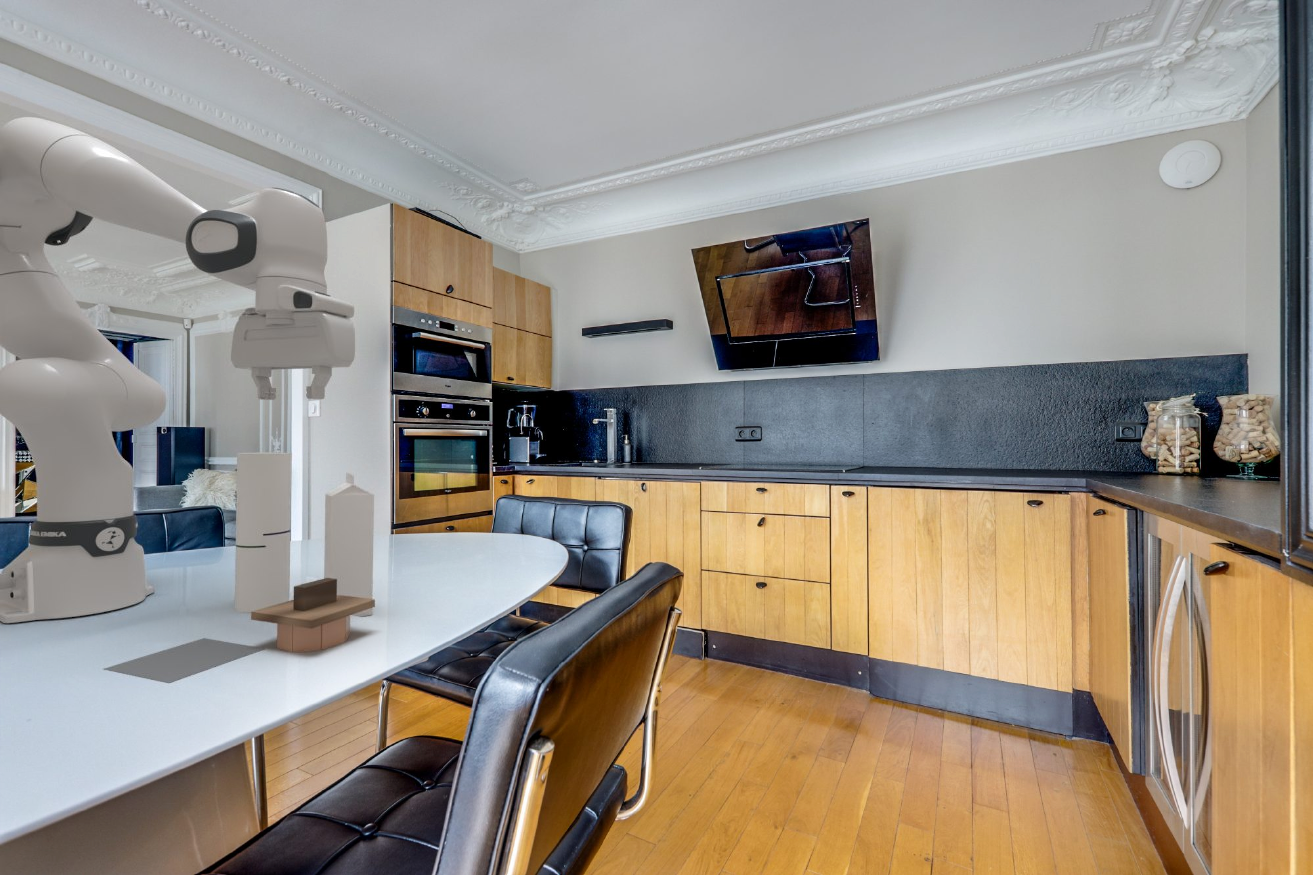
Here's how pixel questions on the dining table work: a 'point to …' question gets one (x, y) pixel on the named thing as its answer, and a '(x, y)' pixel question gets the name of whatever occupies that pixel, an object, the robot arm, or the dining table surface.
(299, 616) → the lid
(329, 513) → the milk
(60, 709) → the dining table surface
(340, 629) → the bowl
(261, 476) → the cylindrical container
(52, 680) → the dining table surface
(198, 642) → the mat
